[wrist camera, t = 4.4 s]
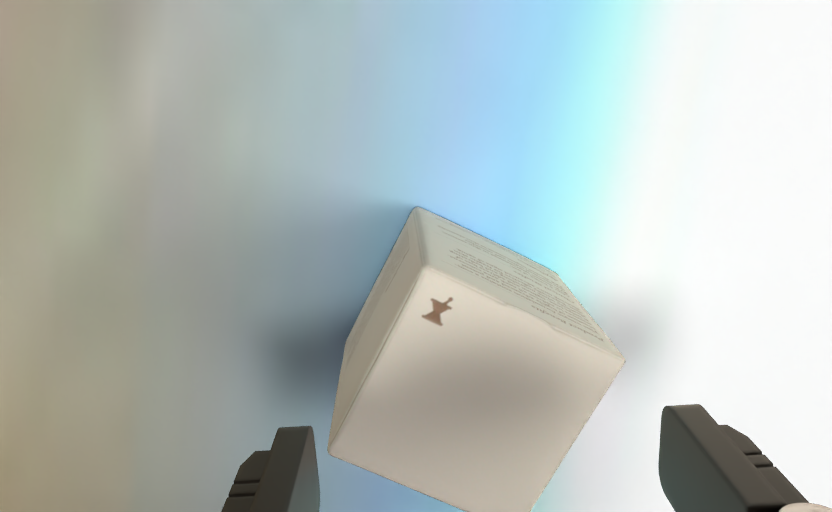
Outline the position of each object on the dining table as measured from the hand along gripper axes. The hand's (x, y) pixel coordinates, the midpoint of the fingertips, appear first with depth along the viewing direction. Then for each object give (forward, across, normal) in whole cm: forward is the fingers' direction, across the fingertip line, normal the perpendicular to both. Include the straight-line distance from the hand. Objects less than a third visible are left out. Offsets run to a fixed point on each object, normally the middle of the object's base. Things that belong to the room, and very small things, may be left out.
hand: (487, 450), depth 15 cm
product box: (+10, 0, 0) cm, 10 cm away
